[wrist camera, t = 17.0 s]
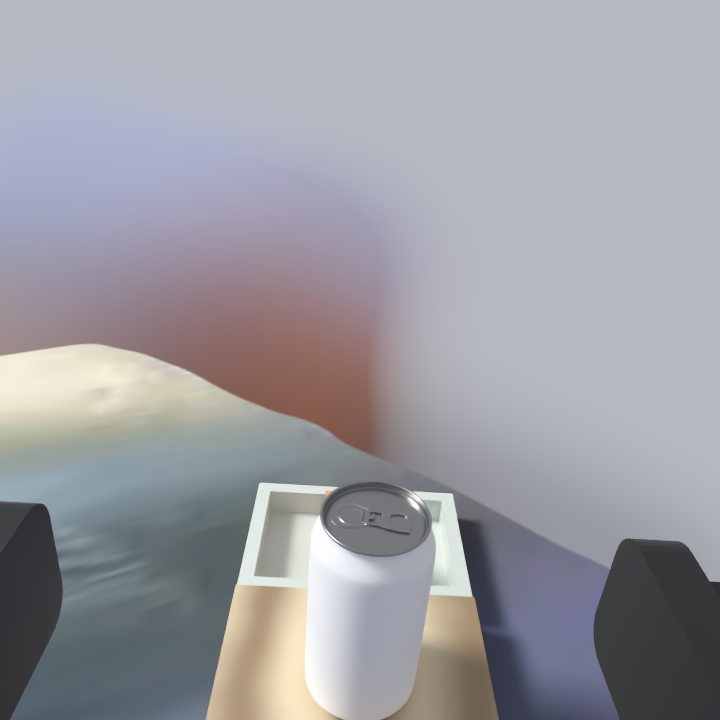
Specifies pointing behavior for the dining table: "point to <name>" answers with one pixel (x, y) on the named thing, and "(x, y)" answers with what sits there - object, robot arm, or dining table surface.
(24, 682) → the robot arm
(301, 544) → the tray
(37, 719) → the dining table surface
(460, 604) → the board
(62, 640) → the dining table surface
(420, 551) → the can
